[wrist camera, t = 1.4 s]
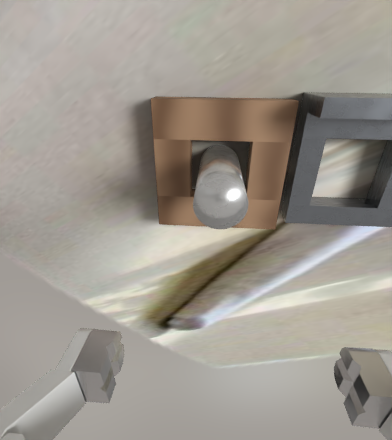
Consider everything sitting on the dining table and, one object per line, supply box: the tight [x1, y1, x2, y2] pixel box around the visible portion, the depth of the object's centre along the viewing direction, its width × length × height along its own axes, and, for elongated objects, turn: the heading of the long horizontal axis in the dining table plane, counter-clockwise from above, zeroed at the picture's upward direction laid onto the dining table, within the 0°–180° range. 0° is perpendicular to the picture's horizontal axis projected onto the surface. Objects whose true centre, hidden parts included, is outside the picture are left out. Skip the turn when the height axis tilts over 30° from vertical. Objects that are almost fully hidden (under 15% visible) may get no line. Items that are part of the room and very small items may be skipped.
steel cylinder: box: [193, 145, 248, 229], centre depth 26 cm, size 4×4×11 cm
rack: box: [281, 93, 392, 227], centre depth 27 cm, size 12×14×6 cm
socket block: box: [151, 97, 299, 229], centre depth 29 cm, size 14×14×2 cm
